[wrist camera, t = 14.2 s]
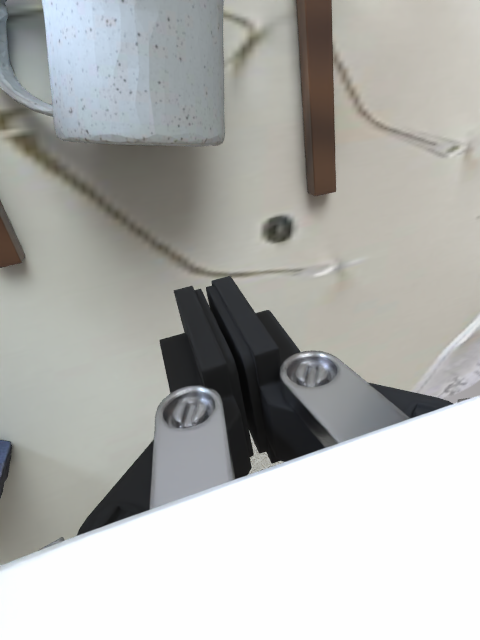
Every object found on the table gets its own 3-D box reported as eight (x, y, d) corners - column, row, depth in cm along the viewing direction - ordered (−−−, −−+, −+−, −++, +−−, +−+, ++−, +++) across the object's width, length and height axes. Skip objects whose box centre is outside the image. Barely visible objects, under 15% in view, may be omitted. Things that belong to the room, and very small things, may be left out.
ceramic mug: (206, -44, 20) (247, -117, 13) (208, 140, 23) (240, 155, 17) (-40, -72, 17) (-142, -179, 11) (8, 138, 21) (-45, 155, 14)
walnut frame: (328, 188, 27) (336, 192, 26) (-1, 262, 24) (-6, 269, 23) (314, -210, 18) (326, -229, 17) (-217, -179, 15) (-242, -199, 14)
